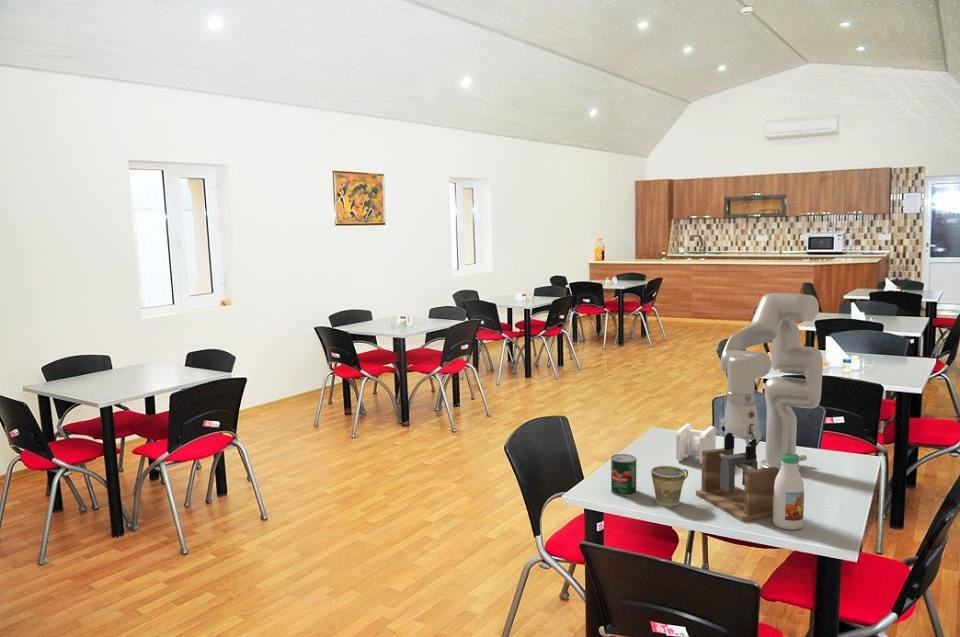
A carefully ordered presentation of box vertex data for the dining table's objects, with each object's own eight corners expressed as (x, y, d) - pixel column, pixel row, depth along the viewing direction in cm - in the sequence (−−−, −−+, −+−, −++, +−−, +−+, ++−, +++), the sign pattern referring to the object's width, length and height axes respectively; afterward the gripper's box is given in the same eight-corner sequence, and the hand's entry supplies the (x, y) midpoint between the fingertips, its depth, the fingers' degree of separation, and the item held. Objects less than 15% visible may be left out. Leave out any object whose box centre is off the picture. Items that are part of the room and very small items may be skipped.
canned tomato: (634, 487, 232) (634, 454, 231) (638, 496, 225) (638, 461, 223) (609, 487, 233) (609, 453, 232) (612, 496, 225) (612, 461, 224)
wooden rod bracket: (695, 495, 224) (696, 451, 222) (733, 489, 228) (734, 446, 227) (742, 521, 203) (743, 473, 202) (783, 515, 208) (784, 467, 206)
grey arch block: (747, 483, 219) (748, 451, 217) (756, 488, 215) (757, 455, 214) (720, 487, 215) (720, 455, 214) (728, 492, 212) (729, 459, 210)
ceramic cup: (666, 511, 212) (667, 478, 211) (643, 500, 220) (644, 469, 219) (699, 503, 218) (700, 471, 217) (675, 492, 227) (676, 462, 225)
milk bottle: (772, 528, 198) (775, 458, 196) (772, 518, 206) (774, 449, 203) (803, 532, 196) (806, 460, 193) (802, 521, 203) (804, 452, 200)
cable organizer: (687, 452, 268) (688, 421, 267) (716, 456, 262) (717, 425, 261) (675, 463, 256) (675, 431, 254) (705, 468, 250) (706, 435, 248)
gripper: (771, 403, 205) (770, 461, 207) (732, 390, 221) (731, 444, 224) (749, 406, 203) (748, 464, 205) (711, 392, 219) (710, 447, 221)
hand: (739, 454), depth 214 cm, fingers open, 9 cm apart
